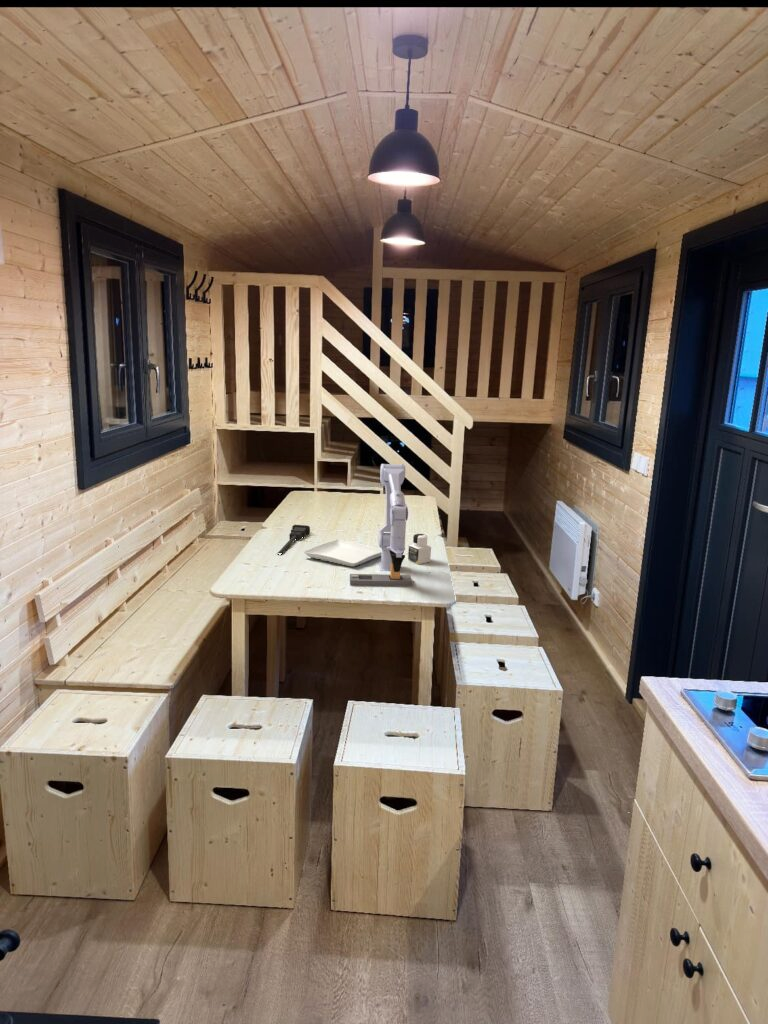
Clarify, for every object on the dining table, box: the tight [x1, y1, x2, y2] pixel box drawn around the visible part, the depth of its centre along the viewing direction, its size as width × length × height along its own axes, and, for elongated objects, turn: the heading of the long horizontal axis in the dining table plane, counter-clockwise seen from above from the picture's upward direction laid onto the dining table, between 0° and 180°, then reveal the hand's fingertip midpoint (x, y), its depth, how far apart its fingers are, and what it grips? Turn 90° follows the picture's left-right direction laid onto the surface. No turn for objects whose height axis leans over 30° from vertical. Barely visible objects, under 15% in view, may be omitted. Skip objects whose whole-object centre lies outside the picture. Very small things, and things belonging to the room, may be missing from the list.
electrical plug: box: [277, 524, 311, 554], centre depth 330 cm, size 9×42×5 cm, turn 172°
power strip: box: [349, 573, 413, 587], centre depth 278 cm, size 8×24×3 cm, turn 94°
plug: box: [389, 558, 401, 579], centre depth 277 cm, size 4×4×8 cm
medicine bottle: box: [407, 533, 432, 565], centre depth 308 cm, size 7×7×12 cm
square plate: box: [302, 539, 382, 568], centre depth 311 cm, size 27×27×4 cm
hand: (396, 570), depth 277 cm, fingers closed on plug, 3 cm apart
